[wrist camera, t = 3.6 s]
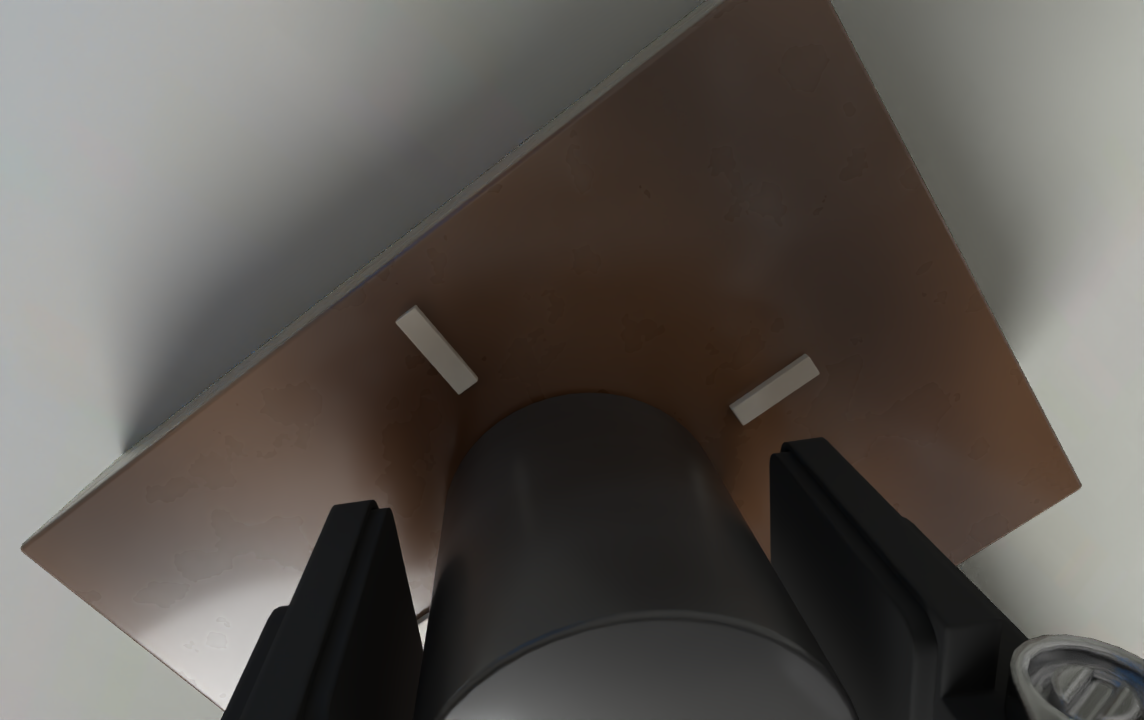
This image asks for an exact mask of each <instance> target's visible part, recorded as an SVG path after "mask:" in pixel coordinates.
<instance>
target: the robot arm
mask: <svg viewBox="0 0 1144 720" xmlns="http://www.w3.org/2000/svg"><path fill="white" fill-rule="evenodd" d="M769 478H770V553H771V565H772V566H773V568H774V570H775V571H776V573H777V575H778V577H779V578H780V580H781V582H782V583H783V585H784V587H785V588H786V590H787V592H788V593H789V595H790V597H791V599H792V600H793V602H794V604H795V605H796V607H797V609H798V610H799V612H800V614H801V615H802V617H803V619H804V621H805V622H806V624H807V626H808V627H809V629H810V631H811V632H812V634H813V636H814V638H815V639H816V641H817V643H818V644H819V646H820V648H821V649H822V651H823V653H824V654H825V656H826V658H827V660H828V661H829V663H830V665H831V666H832V668H833V670H834V671H835V673H836V675H837V677H838V678H839V680H840V682H841V683H842V685H843V687H844V688H845V690H846V692H847V693H848V695H849V697H850V699H851V701H852V703H853V705H854V708H855V710H856V713H857V715H858V717H859V720H1144V659H1142V658H1140V657H1138V656H1136V655H1134V654H1132V653H1130V652H1128V651H1126V650H1124V649H1122V648H1120V647H1117V646H1114V645H1111V644H1108V643H1105V642H1102V641H1098V640H1095V639H1092V638H1086V637H1080V636H1073V635H1067V634H1063V635H1043V636H1039V637H1036V638H1033V639H1028V638H1027V637H1026V636H1025V635H1024V634H1023V633H1022V632H1021V631H1020V630H1019V629H1018V628H1017V627H1016V626H1015V625H1014V624H1013V623H1012V622H1011V621H1010V620H1009V619H1008V618H1007V617H1006V616H1005V615H1004V614H1003V613H1002V612H1001V611H1000V610H999V609H998V608H997V607H996V606H995V605H994V604H993V603H992V602H991V601H990V600H989V599H988V598H987V597H986V596H985V595H984V594H983V593H982V592H981V591H980V590H979V589H978V588H977V587H976V586H975V585H974V584H973V583H972V582H971V581H970V580H969V579H968V578H967V577H966V576H965V575H964V574H963V573H962V572H961V571H960V570H959V569H958V568H957V567H956V566H955V565H954V564H953V563H952V562H951V561H950V560H949V559H948V558H947V557H946V556H945V555H944V554H943V553H942V552H941V551H940V550H939V549H938V548H937V547H936V546H935V545H934V544H933V543H932V542H931V541H930V540H929V539H928V538H927V537H926V536H925V535H924V534H923V533H922V532H921V531H920V530H919V529H918V528H917V527H916V525H915V524H914V523H912V522H911V521H910V520H908V519H907V518H905V517H902V516H901V515H900V514H899V513H898V512H897V511H896V510H895V509H894V508H893V507H892V506H891V505H890V504H889V503H888V502H887V501H886V500H885V499H884V498H883V496H882V495H881V494H880V493H879V492H878V491H877V490H876V489H875V488H874V487H873V486H872V485H871V484H870V483H869V482H868V481H867V480H866V479H865V478H864V477H863V476H862V475H861V474H860V473H859V472H858V471H857V470H856V469H855V468H854V467H853V466H852V465H851V464H850V463H849V462H848V461H847V460H846V459H845V458H844V457H843V456H842V455H841V454H840V453H839V452H838V451H837V450H836V449H835V448H834V447H833V446H832V445H831V444H830V443H829V442H828V441H827V440H826V439H825V438H823V437H817V438H810V439H803V440H796V441H789V442H784V443H783V444H782V446H781V450H780V453H773V454H772V455H771V456H770V462H769ZM422 656H423V646H422V641H421V637H420V632H419V628H418V623H417V619H416V614H415V610H414V605H413V601H412V596H411V592H410V587H409V583H408V578H407V574H406V569H405V565H404V560H403V556H402V552H401V547H400V543H399V538H398V534H397V529H396V525H395V520H394V516H393V513H392V510H391V509H390V508H389V507H388V508H381V509H379V507H378V505H377V502H376V501H375V500H374V499H373V500H366V501H359V502H351V503H344V504H337V505H333V507H332V508H331V510H330V512H329V515H328V517H327V519H326V522H325V524H324V526H323V528H322V531H321V533H320V535H319V538H318V540H317V542H316V544H315V547H314V549H313V551H312V554H311V556H310V558H309V560H308V563H307V565H306V567H305V570H304V572H303V574H302V577H301V579H300V581H299V583H298V586H297V588H296V590H295V593H294V595H293V597H292V599H291V602H290V604H289V605H287V606H280V607H278V608H276V609H274V610H273V611H272V613H271V615H270V616H269V618H268V620H267V622H266V624H265V626H264V628H263V630H262V632H261V635H260V637H259V639H258V641H257V643H256V645H255V647H254V650H253V652H252V654H251V656H250V658H249V660H248V662H247V665H246V667H245V669H244V671H243V673H242V675H241V677H240V680H239V682H238V684H237V686H236V688H235V690H234V692H233V695H232V697H231V699H230V701H229V703H228V705H227V707H226V710H225V712H224V714H223V716H222V718H221V720H413V716H414V709H415V703H416V696H417V689H418V683H419V676H420V670H421V663H422Z"/></svg>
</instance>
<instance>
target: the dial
mask: <svg viewBox="0 0 1144 720" xmlns="http://www.w3.org/2000/svg"><path fill="white" fill-rule="evenodd" d="M413 720H859V717H858V715H857V713H856V710H855V708H854V705H853V703H852V701H851V699H850V697H849V695H848V693H847V692H846V690H845V688H844V687H843V685H842V683H841V682H840V680H839V678H838V677H837V675H836V673H835V671H834V670H833V668H832V666H831V665H830V663H829V661H828V660H827V658H826V656H825V654H824V653H823V651H822V649H821V648H820V646H819V644H818V643H817V641H816V639H815V638H814V636H813V634H812V632H811V631H810V629H809V627H808V626H807V624H806V622H805V621H804V619H803V617H802V615H801V614H800V612H799V610H798V609H797V607H796V605H795V604H794V602H793V600H792V599H791V597H790V595H789V593H788V592H787V590H786V588H785V587H784V585H783V583H782V582H781V580H780V578H779V577H778V575H777V573H776V571H775V570H774V568H773V566H772V565H771V563H770V561H769V560H768V558H767V556H766V554H765V553H764V551H763V549H762V548H761V546H760V544H759V543H758V541H757V539H756V538H755V536H754V534H753V532H752V531H751V529H750V527H749V526H748V524H747V522H746V521H745V519H744V517H743V516H742V514H741V512H740V510H739V509H738V507H737V505H736V504H735V502H734V500H733V499H732V497H731V495H730V493H729V492H728V490H727V488H726V487H725V485H724V483H723V482H722V480H721V478H720V477H719V475H718V473H717V471H716V470H715V468H714V466H713V465H712V463H711V461H710V460H709V458H708V456H707V455H706V453H705V452H704V450H703V448H702V447H701V445H700V444H699V442H698V441H697V440H696V439H695V438H694V437H693V435H692V434H691V433H690V432H689V431H688V430H687V429H686V428H685V427H683V426H682V425H681V424H680V423H679V422H678V421H677V420H675V419H674V418H672V417H671V416H669V415H668V414H666V413H664V412H663V411H661V410H660V409H657V408H655V407H653V406H651V405H649V404H647V403H644V402H641V401H638V400H635V399H632V398H629V397H624V396H619V395H613V394H606V393H577V394H567V395H562V396H557V397H552V398H548V399H545V400H542V401H539V402H536V403H533V404H530V405H528V406H526V407H524V408H522V409H520V410H518V411H515V412H514V413H512V414H510V415H509V416H507V417H506V418H504V419H502V420H501V421H499V422H498V423H497V424H495V425H494V426H493V427H492V428H491V429H489V430H488V431H487V432H486V433H484V434H483V435H482V437H481V438H480V439H479V440H478V441H477V442H476V443H475V444H474V445H473V446H472V447H471V449H470V450H469V451H468V453H467V454H466V456H465V457H464V458H463V460H462V461H461V463H460V465H459V467H458V469H457V471H456V473H455V475H454V477H453V479H452V482H451V485H450V488H449V491H448V494H447V499H446V505H445V510H444V517H443V523H442V530H441V537H440V543H439V550H438V557H437V563H436V570H435V577H434V583H433V590H432V597H431V603H430V610H429V616H428V623H427V630H426V636H425V643H424V650H423V656H422V663H421V670H420V676H419V683H418V689H417V696H416V703H415V709H414V716H413Z"/></svg>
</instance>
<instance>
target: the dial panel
mask: <svg viewBox="0 0 1144 720" xmlns="http://www.w3.org/2000/svg"><path fill="white" fill-rule="evenodd" d="M577 393H606V394H613V395H619V396H624V397H629V398H632V399H635V400H638V401H641V402H644V403H647V404H649V405H651V406H653V407H655V408H657V409H660V410H661V411H663V412H664V413H666V414H668V415H669V416H671V417H672V418H674V419H675V420H677V421H678V422H679V423H680V424H681V425H682V426H683V427H685V428H686V429H687V430H688V431H689V432H690V433H691V434H692V435H693V437H694V438H695V439H696V440H697V441H698V442H699V444H700V445H701V447H702V448H703V450H704V452H705V453H706V455H707V456H708V458H709V460H710V461H711V463H712V465H713V466H714V468H715V470H716V471H717V473H718V475H719V477H720V478H721V480H722V482H723V483H724V485H725V487H726V488H727V490H728V492H729V493H730V495H731V497H732V499H733V500H734V502H735V504H736V505H737V507H738V509H739V510H740V512H741V514H742V516H743V517H744V519H745V521H746V522H747V524H748V526H749V527H750V529H751V531H752V532H753V534H754V536H755V538H756V539H757V541H758V543H759V544H760V546H761V548H762V549H763V551H764V553H765V554H766V556H767V558H768V560H769V561H770V563H771V553H770V478H769V462H770V456H771V455H772V454H773V453H780V450H781V446H782V444H783V443H784V442H789V441H796V440H803V439H810V438H817V437H823V438H825V439H826V440H827V441H828V442H829V443H830V444H831V445H832V446H833V447H834V448H835V449H836V450H837V451H838V452H839V453H840V454H841V455H842V456H843V457H844V458H845V459H846V460H847V461H848V462H849V463H850V464H851V465H852V466H853V467H854V468H855V469H856V470H857V471H858V472H859V473H860V474H861V475H862V476H863V477H864V478H865V479H866V480H867V481H868V482H869V483H870V484H871V485H872V486H873V487H874V488H875V489H876V490H877V491H878V492H879V493H880V494H881V495H882V496H883V498H884V499H885V500H886V501H887V502H888V503H889V504H890V505H891V506H892V507H893V508H894V509H895V510H896V511H897V512H898V513H899V514H900V515H901V516H902V517H905V518H907V519H908V520H910V521H911V522H912V523H914V524H915V525H916V527H917V528H918V529H919V530H920V531H921V532H922V533H923V534H924V535H925V536H926V537H927V538H928V539H929V540H930V541H931V542H932V543H933V544H934V545H935V546H936V547H937V548H938V549H939V550H940V551H941V552H942V553H943V554H944V555H945V556H946V557H947V558H948V559H949V560H950V561H951V562H952V563H953V564H954V565H955V566H957V565H959V564H960V563H962V562H963V561H965V560H967V559H968V558H970V557H971V556H973V555H975V554H976V553H978V552H979V551H981V550H983V549H984V548H986V547H987V546H989V545H991V544H992V543H994V542H995V541H997V540H999V539H1000V538H1002V537H1004V536H1005V535H1007V534H1008V533H1010V532H1012V531H1013V530H1015V529H1016V528H1018V527H1020V526H1021V525H1023V524H1024V523H1026V522H1028V521H1029V520H1031V519H1032V518H1034V517H1036V516H1037V515H1039V514H1040V513H1042V512H1044V511H1045V510H1047V509H1049V508H1050V507H1052V506H1053V505H1055V504H1057V503H1058V502H1060V501H1061V500H1063V499H1065V498H1066V497H1068V496H1069V495H1071V494H1073V493H1074V492H1076V491H1077V490H1079V489H1080V488H1081V487H1082V484H1081V482H1080V480H1079V479H1078V477H1077V475H1076V473H1075V471H1074V469H1073V467H1072V465H1071V463H1070V461H1069V459H1068V457H1067V455H1066V454H1065V452H1064V450H1063V448H1062V446H1061V444H1060V442H1059V440H1058V438H1057V436H1056V434H1055V432H1054V430H1053V429H1052V427H1051V425H1050V423H1049V421H1048V419H1047V417H1046V415H1045V413H1044V411H1043V409H1042V407H1041V406H1040V404H1039V402H1038V400H1037V398H1036V396H1035V394H1034V392H1033V390H1032V388H1031V386H1030V384H1029V382H1028V381H1027V379H1026V377H1025V375H1024V373H1023V371H1022V369H1021V367H1020V365H1019V363H1018V361H1017V359H1016V357H1015V356H1014V354H1013V352H1012V350H1011V348H1010V346H1009V344H1008V342H1007V340H1006V338H1005V336H1004V334H1003V332H1002V331H1001V329H1000V327H999V325H998V323H997V321H996V319H995V317H994V315H993V313H992V311H991V309H990V307H989V306H988V304H987V302H986V300H985V298H984V296H983V294H982V292H981V290H980V288H979V286H978V284H977V282H976V281H975V279H974V277H973V275H972V273H971V271H970V269H969V267H968V265H967V263H966V261H965V259H964V258H963V256H962V254H961V252H960V250H959V248H958V246H957V244H956V242H955V240H954V238H953V236H952V234H951V233H950V231H949V229H948V227H947V225H946V223H945V221H944V219H943V217H942V215H941V213H940V211H939V209H938V208H937V206H936V204H935V202H934V200H933V198H932V196H931V194H930V192H929V190H928V188H927V186H926V184H925V183H924V181H923V179H922V177H921V175H920V173H919V171H918V169H917V167H916V165H915V163H914V161H913V159H912V158H911V156H910V154H909V152H908V150H907V148H906V146H905V144H904V142H903V140H902V138H901V136H900V134H899V133H898V131H897V129H896V127H895V125H894V123H893V121H892V119H891V117H890V115H889V113H888V111H887V109H886V108H885V106H884V104H883V102H882V100H881V98H880V96H879V94H878V92H877V90H876V88H875V86H874V85H873V83H872V81H871V79H870V77H869V75H868V73H867V71H866V69H865V67H864V65H863V63H862V61H861V60H860V58H859V56H858V54H857V52H856V50H855V48H854V46H853V44H852V42H851V40H850V38H849V36H848V35H847V33H846V31H845V29H844V27H843V25H842V23H841V21H840V19H839V17H838V15H837V13H836V11H835V10H834V8H833V6H832V4H831V2H830V0H706V1H705V2H703V3H702V4H701V5H700V6H698V7H697V8H696V9H694V10H693V11H692V12H691V13H689V14H688V15H687V16H685V17H684V18H683V19H682V20H680V21H679V22H678V23H676V24H675V25H674V26H673V27H671V28H670V29H669V30H667V31H666V32H665V33H664V34H662V35H661V36H660V37H658V38H657V39H656V40H655V41H653V42H652V43H651V44H649V45H648V46H647V47H646V48H644V49H643V50H642V51H641V52H639V53H638V54H637V55H635V56H634V57H633V58H632V59H630V60H629V61H628V62H626V63H625V64H624V65H623V66H621V67H620V68H619V69H617V70H616V71H615V72H614V73H612V74H611V75H610V76H608V77H607V78H606V79H605V80H603V81H602V82H601V83H599V84H598V85H597V86H596V87H594V88H593V89H592V90H590V91H589V92H588V93H587V94H585V95H584V96H583V97H581V98H580V99H579V100H578V101H576V102H575V103H574V104H572V105H571V106H570V107H569V108H567V109H566V110H565V111H563V112H562V113H561V114H560V115H558V116H557V117H556V118H554V119H553V120H552V121H551V122H549V123H548V124H547V125H545V126H544V127H543V128H542V129H540V130H539V131H538V132H536V133H535V134H534V135H533V136H531V137H530V138H529V139H527V140H526V141H525V142H524V143H522V144H521V145H520V146H518V147H517V148H516V149H515V150H513V151H512V152H511V153H509V154H508V155H507V156H506V157H504V158H503V159H502V160H500V161H499V162H498V163H497V164H495V165H494V166H493V167H491V168H490V169H489V170H488V171H486V172H485V173H484V174H482V175H481V176H480V177H479V178H477V179H476V180H475V181H474V182H472V183H471V184H470V185H468V186H467V187H466V188H465V189H463V190H462V191H461V192H459V193H458V194H457V195H456V196H454V197H453V198H452V199H450V200H449V201H448V202H447V203H445V204H444V205H443V206H441V207H440V208H439V209H438V210H436V211H435V212H434V213H432V214H431V215H430V216H429V217H427V218H426V219H425V220H423V221H422V222H421V223H420V224H418V225H417V226H416V227H414V228H413V229H412V230H411V231H409V232H408V233H407V234H405V235H404V236H403V237H402V238H400V239H399V240H398V241H396V242H395V243H394V244H393V245H391V246H390V247H389V248H387V249H386V250H385V251H384V252H382V253H381V254H380V255H378V256H377V257H376V258H375V259H373V260H372V261H371V262H369V263H368V264H367V265H366V266H364V267H363V268H362V269H360V270H359V271H358V272H357V273H355V274H354V275H353V276H351V277H350V278H349V279H348V280H346V281H345V282H344V283H342V284H341V285H340V286H339V287H337V288H336V289H335V290H333V291H332V292H331V293H330V294H328V295H327V296H326V297H324V298H323V299H322V300H321V301H319V302H318V303H317V304H315V305H314V306H313V307H312V308H310V309H309V310H308V311H307V312H305V313H304V314H303V315H301V316H300V317H299V318H298V319H296V320H295V321H294V322H292V323H291V324H290V325H289V326H287V327H286V328H285V329H283V330H282V331H281V332H280V333H278V334H277V335H276V336H274V337H273V338H272V339H271V340H269V341H268V342H267V343H265V344H264V345H263V346H262V347H260V348H259V349H258V350H256V351H255V352H254V353H253V354H251V355H250V356H249V357H247V358H246V359H245V360H244V361H242V362H241V363H240V364H238V365H237V366H236V367H235V368H233V369H232V370H231V371H229V372H228V373H227V374H226V375H224V376H223V377H222V378H220V379H219V380H218V381H217V382H215V383H214V384H213V385H211V386H210V387H209V388H208V389H206V390H205V391H204V392H202V393H201V394H200V395H199V396H197V397H196V398H195V399H193V400H192V401H191V402H190V403H188V404H187V405H186V406H184V407H183V408H182V409H181V410H179V411H178V412H177V413H175V414H174V415H173V416H172V417H170V418H169V419H168V420H166V421H165V422H164V423H163V424H161V425H160V426H159V427H157V428H156V429H155V430H154V431H152V432H151V433H150V434H148V435H147V436H146V437H145V438H143V439H142V440H141V441H140V442H138V443H137V444H136V445H134V446H133V447H132V448H131V449H129V450H128V451H127V452H125V453H124V454H123V455H122V456H120V457H119V458H118V459H117V460H116V461H114V462H113V463H112V464H111V465H110V466H109V467H108V468H107V469H106V470H104V471H103V472H102V473H101V474H100V475H99V476H98V477H97V478H95V479H94V480H93V481H92V482H91V483H90V484H89V485H88V486H87V487H85V488H84V489H83V490H82V491H81V492H80V493H79V494H78V495H76V496H75V497H74V498H73V499H72V500H71V501H70V502H69V503H68V504H66V505H65V506H64V507H63V508H62V509H61V510H60V511H59V512H58V513H56V514H55V515H54V516H53V517H52V518H51V519H50V520H49V521H47V522H46V523H45V524H44V525H43V526H42V527H41V528H40V529H39V530H37V531H36V532H35V533H34V534H33V535H32V536H31V537H30V538H29V539H27V540H26V541H25V542H24V543H23V544H22V546H21V551H22V552H23V553H24V554H25V555H27V556H28V557H29V558H30V559H32V560H33V561H34V562H35V563H37V564H38V565H39V566H41V567H42V568H43V569H44V570H46V571H47V572H48V573H49V574H51V575H52V576H53V577H55V578H56V579H57V580H58V581H60V582H61V583H62V584H63V585H65V586H66V587H67V588H68V589H70V590H71V591H72V592H74V593H75V594H76V595H77V596H79V597H80V598H81V599H82V600H84V601H85V602H86V603H87V604H89V605H90V606H91V607H93V608H94V609H95V610H96V611H98V612H99V613H100V614H101V615H103V616H104V617H105V618H106V619H108V620H109V621H110V622H112V623H113V624H114V625H115V626H117V627H118V628H119V629H120V630H122V631H123V632H124V633H125V634H127V635H128V636H129V637H131V638H132V639H133V640H134V641H136V642H137V643H138V644H139V645H141V646H142V647H143V648H144V649H146V650H147V651H148V652H150V653H151V654H152V655H153V656H155V657H156V658H157V659H158V660H160V661H161V662H162V663H164V664H165V665H166V666H167V667H169V668H170V669H171V670H172V671H174V672H175V673H176V674H177V675H179V676H180V677H181V678H183V679H184V680H185V681H186V682H188V683H189V684H190V685H191V686H193V687H194V688H195V689H196V690H198V691H199V692H200V693H202V694H203V695H204V696H205V697H207V698H208V699H209V700H210V701H212V702H213V703H214V704H215V705H217V706H218V707H219V708H221V709H222V710H223V711H224V712H225V710H226V707H227V705H228V703H229V701H230V699H231V697H232V695H233V692H234V690H235V688H236V686H237V684H238V682H239V680H240V677H241V675H242V673H243V671H244V669H245V667H246V665H247V662H248V660H249V658H250V656H251V654H252V652H253V650H254V647H255V645H256V643H257V641H258V639H259V637H260V635H261V632H262V630H263V628H264V626H265V624H266V622H267V620H268V618H269V616H270V615H271V613H272V611H273V610H274V609H276V608H278V607H280V606H287V605H289V604H290V602H291V599H292V597H293V595H294V593H295V590H296V588H297V586H298V583H299V581H300V579H301V577H302V574H303V572H304V570H305V567H306V565H307V563H308V560H309V558H310V556H311V554H312V551H313V549H314V547H315V544H316V542H317V540H318V538H319V535H320V533H321V531H322V528H323V526H324V524H325V522H326V519H327V517H328V515H329V512H330V510H331V508H332V507H333V505H337V504H344V503H351V502H359V501H366V500H373V499H374V500H375V501H376V502H377V505H378V507H379V509H381V508H388V507H389V508H390V509H391V510H392V513H393V516H394V520H395V525H396V529H397V534H398V538H399V543H400V547H401V552H402V556H403V560H404V565H405V569H406V574H407V578H408V583H409V587H410V592H411V596H412V601H413V605H414V610H415V614H416V619H417V623H418V628H419V632H420V637H421V641H422V646H423V650H424V643H425V636H426V630H427V623H428V616H429V610H430V603H431V597H432V590H433V583H434V577H435V570H436V563H437V557H438V550H439V543H440V537H441V530H442V523H443V517H444V510H445V505H446V499H447V494H448V491H449V488H450V485H451V482H452V479H453V477H454V475H455V473H456V471H457V469H458V467H459V465H460V463H461V461H462V460H463V458H464V457H465V456H466V454H467V453H468V451H469V450H470V449H471V447H472V446H473V445H474V444H475V443H476V442H477V441H478V440H479V439H480V438H481V437H482V435H483V434H484V433H486V432H487V431H488V430H489V429H491V428H492V427H493V426H494V425H495V424H497V423H498V422H499V421H501V420H502V419H504V418H506V417H507V416H509V415H510V414H512V413H514V412H515V411H518V410H520V409H522V408H524V407H526V406H528V405H530V404H533V403H536V402H539V401H542V400H545V399H548V398H552V397H557V396H562V395H567V394H577Z"/></svg>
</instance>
